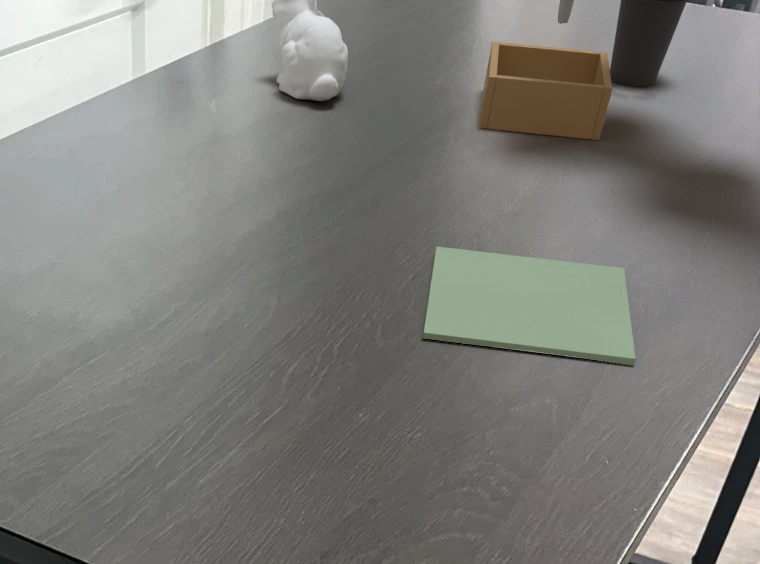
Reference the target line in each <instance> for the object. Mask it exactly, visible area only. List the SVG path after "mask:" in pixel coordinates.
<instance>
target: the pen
mask: <svg viewBox="0 0 760 564" xmlns="http://www.w3.org/2000/svg"><path fill="white" fill-rule="evenodd" d="M574 3H575V0H559V4H558V11H557V23H558V24H560V25H562V24H568V23H569V21H570V20H569V19H570V17H571V14H572V9H573V6H574Z"/></svg>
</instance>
